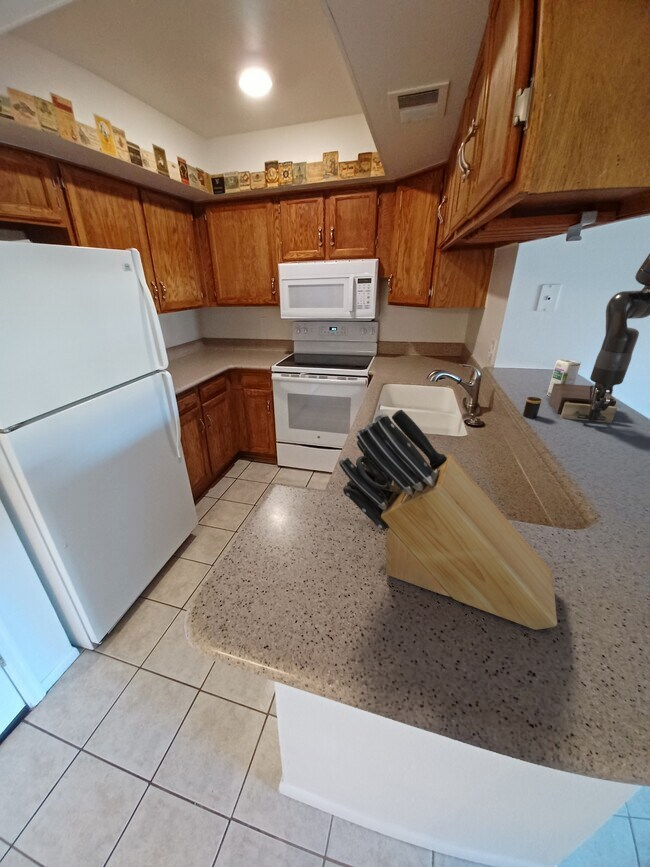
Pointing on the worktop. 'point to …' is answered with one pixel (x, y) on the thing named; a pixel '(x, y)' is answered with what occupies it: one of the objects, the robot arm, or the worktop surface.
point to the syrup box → (564, 373)
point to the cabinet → (570, 395)
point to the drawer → (585, 411)
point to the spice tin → (532, 407)
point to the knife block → (445, 526)
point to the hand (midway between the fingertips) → (591, 420)
